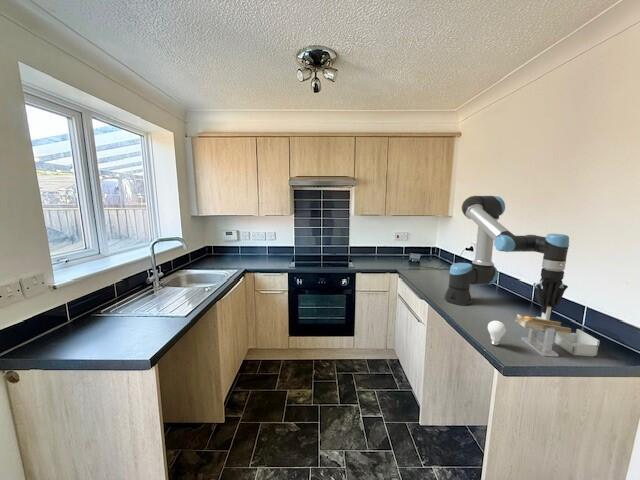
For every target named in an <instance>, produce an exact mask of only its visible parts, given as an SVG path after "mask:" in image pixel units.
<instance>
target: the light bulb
mask: <svg viewBox="0 0 640 480" xmlns="http://www.w3.org/2000/svg"><path fill="white" fill-rule="evenodd" d="M487 331H488V332H489V334H490V339H491V340H490V344H492V345H493V346H498V345H499V344H500V341H501V338H503V336H504V335H505V334H506V332H507V328H506V326H505V324H504V323H503V322H501V321H499V320H492V321H490V322H489V323H488V324H487Z"/></svg>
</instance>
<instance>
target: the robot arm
mask: <svg viewBox="0 0 640 480" xmlns="http://www.w3.org/2000/svg"><path fill="white" fill-rule="evenodd" d="M461 211H462V214H463V215H464V216H465V217H466V219H468V220H472V221H473V222H474V223H475V224H476V225H477V233H476V245H475V246H476V247H475V254H474V255H475V257H474V259H473V260H472V261H471V263H467V262H455V263H453V264H451V265H450V267H449V277H448V287H447V289H446V291H445V293H444V295H443V297H444V298H443V299H444V300H445V301H446V302H448V303H450V304H452V305H453V304H454V305H457V306H458V305H459V306H469V305H471V304H472V301H473V299H472V295H471V291H470V288H471V286H472V285H473V286H476V285H479V286H481V285H483V286H487V285H493V284H494V283H496V281H497V280H498V276H499V273H498V269H497V266H495V263H493V261H492V259H493V248H494V246H495V249H496V251H499V252H505V253H512V252H513V253H514V252H515V253H517V252H521V253H525V252H528V253H529V252H535V253H540V254H543V256H542V257H543V258H542V263H541V267H542V268H541V271H540V280H539V282H537V283H536V282H534V283H533V287H534V289H535V296H536V303H537V304H539V305H541V307H540V312H541V316H540V317H541V318H542V319H544V320H550V317H551V314H553V309H554V308H555V309H556V306H557V307H559V305H560V302H561V301H562V298H563V295H564V293H565V291H566V290H567V289H568V287H569V286H568V285H566V284H565V283H563V280H564V277H565V271H564V270H565V269H566V264H567V256H568V251H569V247H570V237H569V235H566V234H561V233H547V234H546V236H541V235H537V234H525V235H515V234H513V232H511V231H510V230H509V229H507V228H506V227H505V226H504V225H503V224H502V223H500V222H498V220H500V216H502V215H503V214H504V212H505V211H506V203H505V200H503V198H502V197H500V196H497V195H472V196H469V197H467V198H466V199H464V201H462V205H461ZM550 321H551V320H550Z"/></svg>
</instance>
